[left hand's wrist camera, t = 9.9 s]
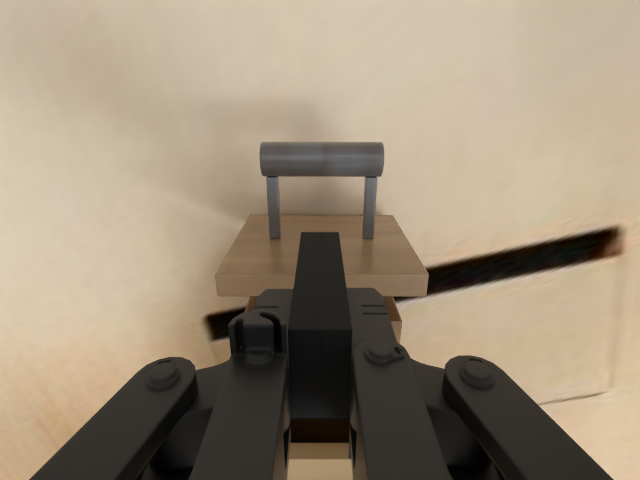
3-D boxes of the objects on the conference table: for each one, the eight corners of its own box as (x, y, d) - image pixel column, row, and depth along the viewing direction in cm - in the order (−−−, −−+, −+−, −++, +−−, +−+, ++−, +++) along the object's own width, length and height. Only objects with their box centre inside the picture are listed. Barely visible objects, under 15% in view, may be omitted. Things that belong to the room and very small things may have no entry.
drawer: (243, 134, 23) (200, 155, 15) (399, 134, 23) (444, 156, 15) (265, 436, 32) (246, 553, 24) (375, 436, 32) (394, 553, 24)
